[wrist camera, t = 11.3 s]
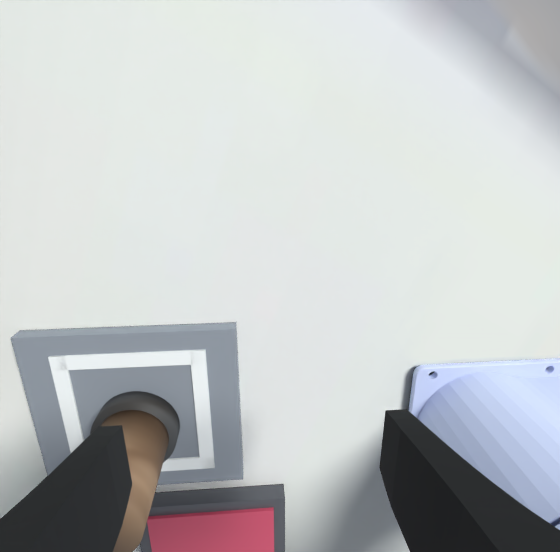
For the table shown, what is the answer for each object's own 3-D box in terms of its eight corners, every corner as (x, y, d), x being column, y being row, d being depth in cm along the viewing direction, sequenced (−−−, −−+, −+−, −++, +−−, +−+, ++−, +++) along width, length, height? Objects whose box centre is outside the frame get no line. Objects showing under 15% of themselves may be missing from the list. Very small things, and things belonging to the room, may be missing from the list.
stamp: (186, 399, 20) (162, 496, 15) (172, 461, 22) (144, 573, 16) (103, 384, 20) (43, 480, 14) (93, 449, 21) (34, 562, 15)
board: (236, 322, 20) (235, 330, 19) (243, 468, 23) (242, 480, 22) (20, 330, 19) (9, 338, 18) (58, 480, 22) (51, 493, 22)
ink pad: (283, 484, 24) (284, 500, 23) (283, 560, 26) (285, 579, 25) (138, 494, 23) (133, 511, 22) (151, 571, 25) (147, 591, 24)
